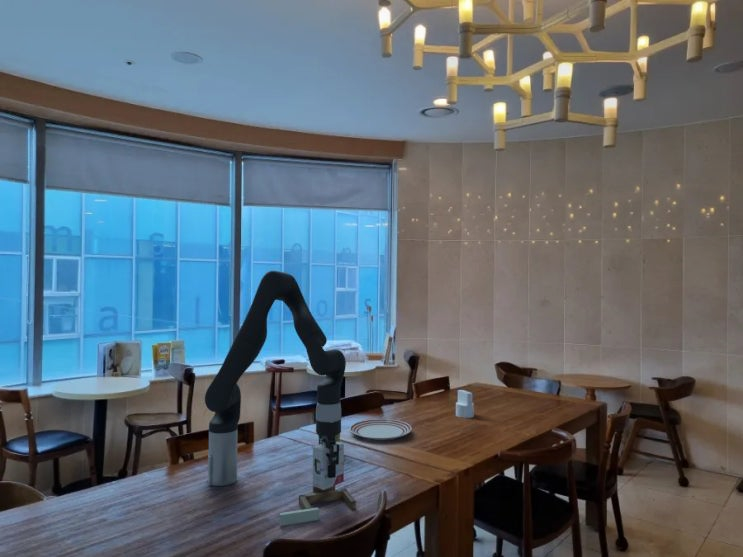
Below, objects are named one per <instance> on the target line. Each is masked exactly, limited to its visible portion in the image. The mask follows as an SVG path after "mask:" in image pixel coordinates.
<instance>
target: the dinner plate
mask: <svg viewBox="0 0 743 557" xmlns="http://www.w3.org/2000/svg"><path fill="white" fill-rule="evenodd" d="M349 432H351V433H352V434H353V435H355V436H358V437H360V438H364V439H366V438H367V440H371V439H373V440H372V441H390V440H389V439H392V440H395V438H396V439H399V438H402V437H404V436H407V435H408V434H409V433H410V432H412V425H411V424H409V423H407V422H405V421H402V420H397V419H392V418H391V419H388V418H372V419H371V418H369V419H365V420H361V421H356V422H355V423H353V424H351V425H350V427H349Z"/></svg>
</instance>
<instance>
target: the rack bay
mask: <svg viewBox="0 0 743 557" xmlns="http://www.w3.org/2000/svg"><path fill="white" fill-rule="evenodd" d="M338 500H339V501H340V500H343V501H344V503H345V505H346V506H347V507H348V508H349V510H351V511H352V510H356V509H357V500H356V499H355V498H354V497H353V495H352V494H351V493H350V491H349V490H348V489H347V488H341V489H336V485H334V486H332V487H330V488H327V489H325V490H322V489H320V488H318V487H315V486H313V485H312V493H306V494H298V505H299V507H300V508H301V509H300V510H304V509H311V508H312V506H311V504H319V503H325V502H331V501H338Z"/></svg>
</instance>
